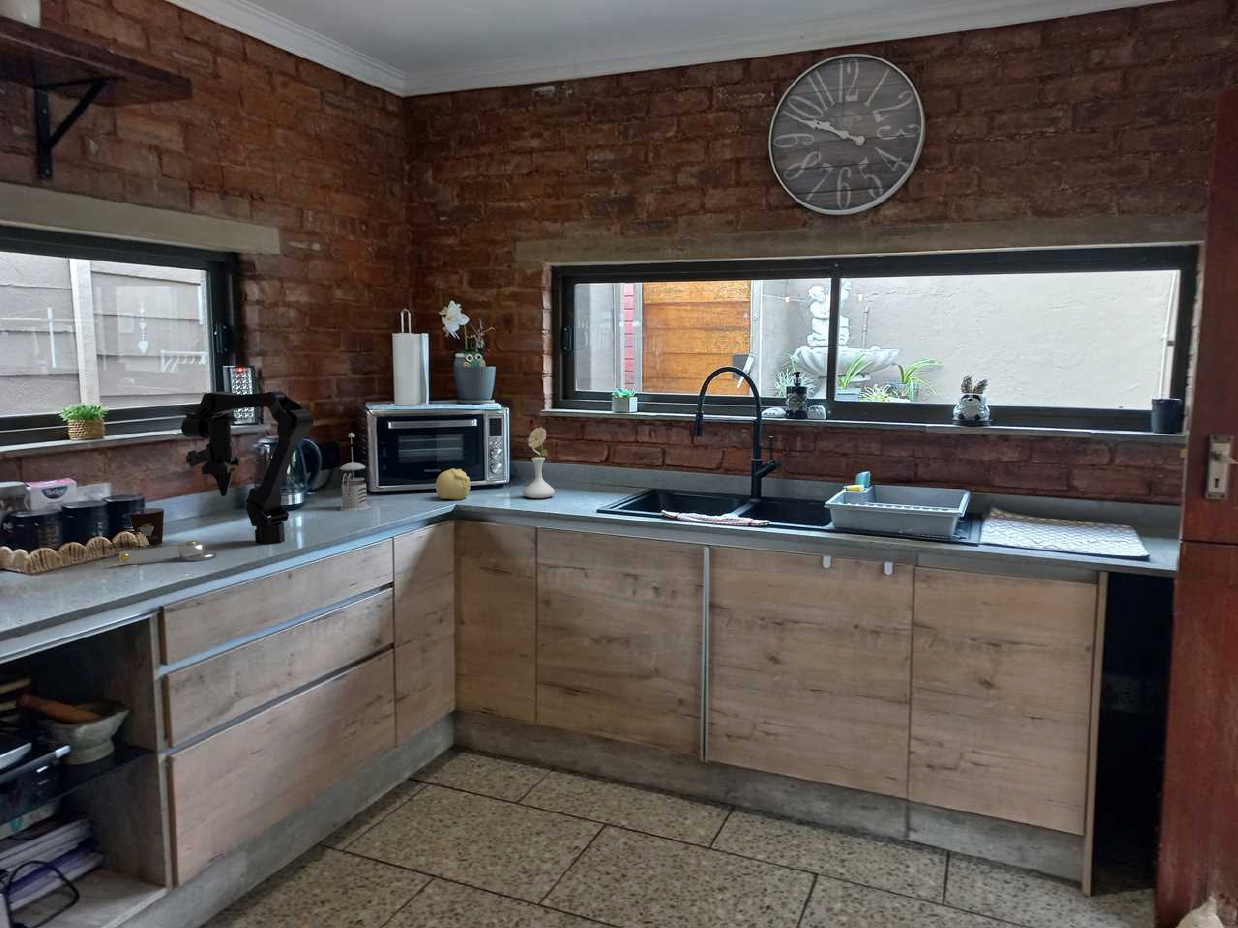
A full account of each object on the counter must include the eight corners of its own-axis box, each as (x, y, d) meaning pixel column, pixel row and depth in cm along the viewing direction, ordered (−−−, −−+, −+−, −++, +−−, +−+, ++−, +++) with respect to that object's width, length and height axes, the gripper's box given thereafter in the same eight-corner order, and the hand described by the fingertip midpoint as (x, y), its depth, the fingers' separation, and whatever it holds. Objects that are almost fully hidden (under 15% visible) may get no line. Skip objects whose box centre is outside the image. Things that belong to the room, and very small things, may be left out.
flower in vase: (518, 496, 308) (516, 426, 305) (548, 493, 313) (547, 424, 309) (530, 501, 296) (529, 429, 293) (561, 499, 301) (560, 427, 298)
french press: (374, 505, 291) (371, 431, 288) (361, 512, 280) (357, 435, 276) (346, 505, 292) (343, 431, 289) (332, 511, 280) (328, 435, 277)
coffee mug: (172, 543, 236) (169, 507, 235) (157, 551, 227) (154, 513, 226) (129, 544, 236) (126, 508, 234) (112, 551, 227) (108, 514, 226)
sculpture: (472, 500, 299) (471, 469, 298) (436, 502, 297) (435, 471, 295) (470, 495, 310) (469, 465, 309) (436, 496, 308) (434, 466, 306)
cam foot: (214, 552, 221) (213, 536, 220) (218, 558, 214) (217, 542, 214) (119, 563, 210) (117, 546, 210) (119, 570, 204) (118, 553, 203)
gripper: (196, 436, 240) (200, 491, 242) (178, 443, 222) (182, 503, 224) (239, 435, 243) (242, 489, 245) (224, 442, 225) (228, 501, 227)
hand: (223, 495), depth 235 cm, fingers closed
